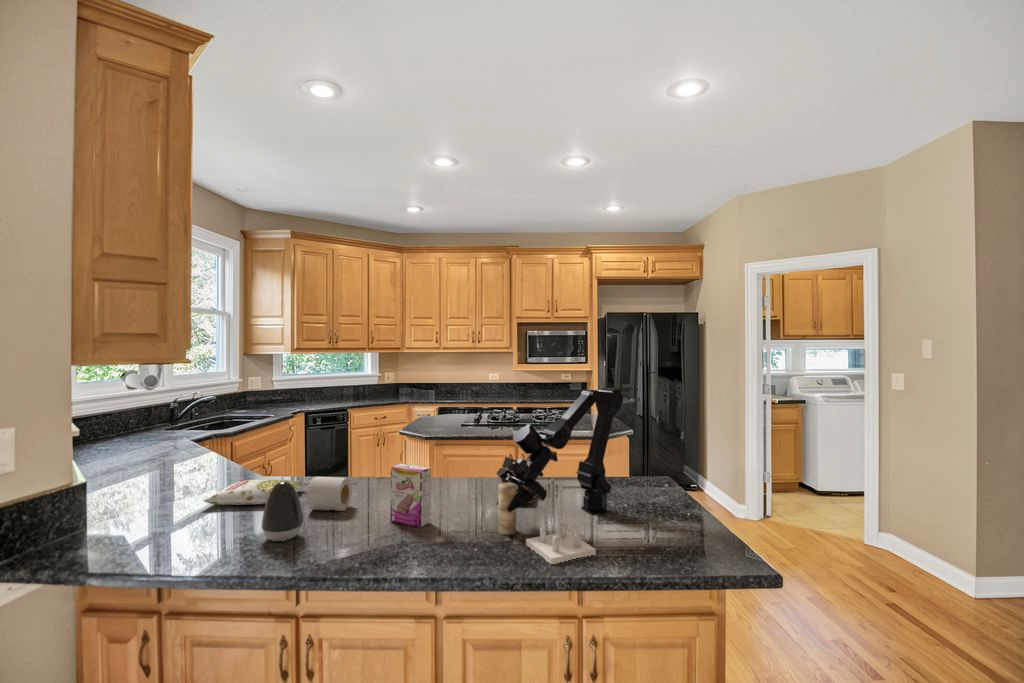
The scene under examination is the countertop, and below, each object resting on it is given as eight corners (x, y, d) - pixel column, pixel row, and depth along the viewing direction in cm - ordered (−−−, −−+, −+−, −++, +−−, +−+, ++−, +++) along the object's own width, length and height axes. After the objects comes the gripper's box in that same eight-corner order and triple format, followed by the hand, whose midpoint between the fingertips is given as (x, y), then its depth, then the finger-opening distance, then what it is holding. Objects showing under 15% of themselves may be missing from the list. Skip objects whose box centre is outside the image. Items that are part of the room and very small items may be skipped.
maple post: (511, 527, 144) (511, 481, 144) (518, 533, 140) (519, 486, 140) (495, 529, 142) (495, 483, 142) (502, 535, 137) (503, 488, 137)
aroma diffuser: (261, 548, 128) (262, 489, 128) (261, 534, 137) (261, 479, 137) (304, 541, 132) (305, 484, 132) (301, 528, 142) (301, 474, 142)
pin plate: (567, 536, 137) (568, 518, 137) (595, 555, 126) (595, 535, 126) (525, 544, 132) (526, 525, 132) (551, 564, 120) (551, 544, 120)
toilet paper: (351, 505, 162) (351, 474, 162) (337, 515, 152) (338, 482, 152) (322, 503, 163) (322, 473, 163) (306, 514, 153) (306, 481, 153)
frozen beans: (284, 490, 158) (200, 491, 155) (283, 509, 157) (200, 510, 155) (305, 475, 178) (231, 476, 176) (305, 491, 178) (231, 492, 176)
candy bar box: (389, 522, 147) (389, 466, 147) (399, 517, 152) (400, 462, 152) (420, 528, 142) (421, 471, 142) (430, 523, 147) (431, 467, 147)
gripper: (502, 440, 151) (469, 482, 145) (538, 452, 135) (503, 500, 129) (523, 463, 155) (492, 505, 149) (561, 477, 139) (528, 524, 133)
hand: (503, 508), depth 140 cm, fingers open, 5 cm apart
